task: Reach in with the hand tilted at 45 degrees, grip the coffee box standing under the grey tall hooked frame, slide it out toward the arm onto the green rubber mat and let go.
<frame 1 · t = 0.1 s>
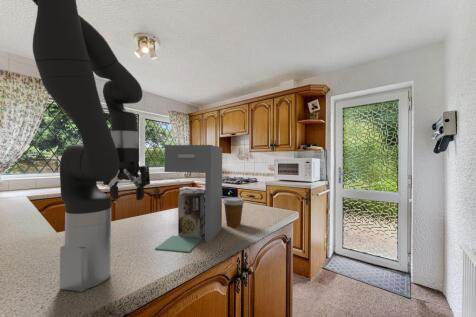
hand: (127, 199, 65), 17 cm above the countertop, tool pointing down, fingers open, 8 cm apart
grey tall hooked frame: (194, 233, 85), on the countertop
candy box: (194, 223, 99), on the countertop
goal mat: (180, 243, 74), on the countertop
coffee box: (191, 234, 84), on the countertop
disposable coffee cup: (233, 225, 96), on the countertop
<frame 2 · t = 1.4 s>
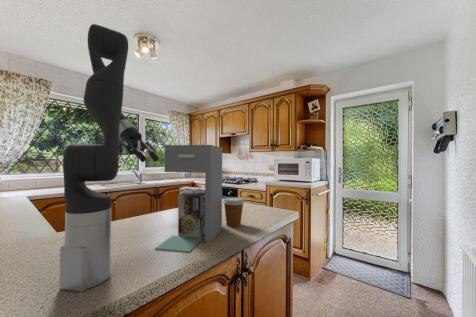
hand: (151, 160, 87), 29 cm above the countertop, tool tilted 45°, fingers open, 8 cm apart
nothing on the countertop moved.
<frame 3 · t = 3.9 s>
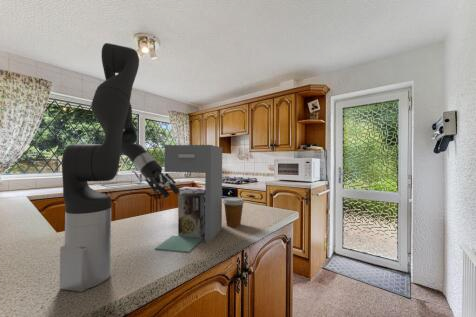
hand: (173, 194, 85), 15 cm above the countertop, tool tilted 45°, fingers open, 8 cm apart
nothing on the countertop moved.
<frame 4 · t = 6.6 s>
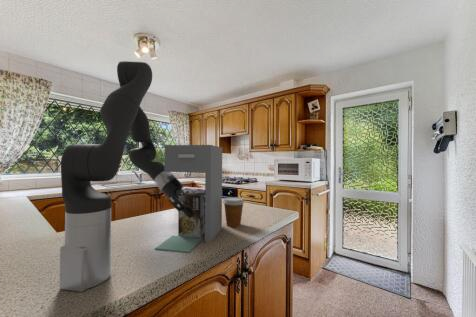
hand: (195, 214, 84), 8 cm above the countertop, tool tilted 45°, fingers closed on coffee box, 6 cm apart
coffee box: (191, 234, 84), on the countertop, touching gripper
everything else where it was.
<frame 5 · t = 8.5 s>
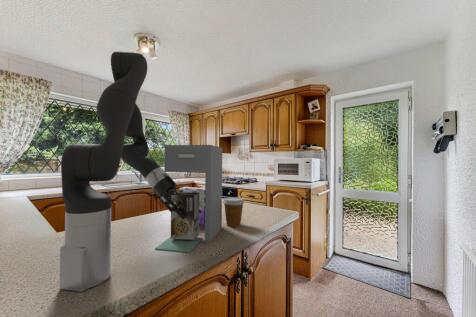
hand: (189, 215, 78), 9 cm above the countertop, tool tilted 45°, fingers closed on coffee box, 6 cm apart
coffee box: (185, 237, 78), point 1 cm above the countertop, touching gripper
everything else where it was.
when the fingers open (9 cm above the countertop, at t = 10.6 s): coffee box stays where it is, resting on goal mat.
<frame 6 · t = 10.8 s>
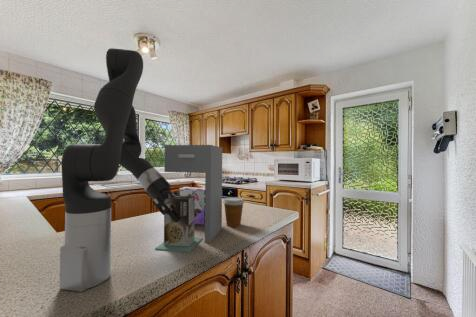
hand: (184, 217, 74), 9 cm above the countertop, tool tilted 45°, fingers open, 8 cm apart
coffee box: (179, 243, 74), resting on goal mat
everything else where it was.
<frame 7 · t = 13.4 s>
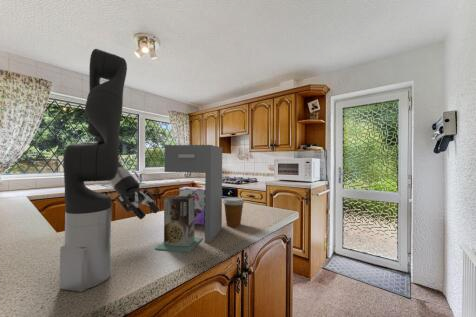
hand: (150, 214, 76), 10 cm above the countertop, tool tilted 45°, fingers open, 8 cm apart
nothing on the countertop moved.
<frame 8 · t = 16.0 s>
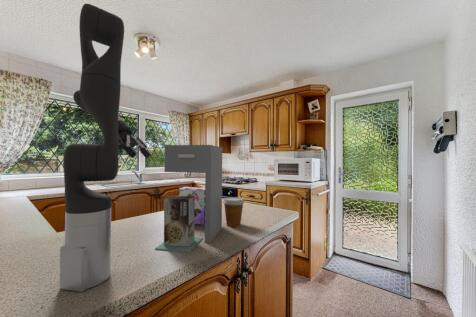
hand: (142, 156, 79), 31 cm above the countertop, tool tilted 45°, fingers open, 8 cm apart
nothing on the countertop moved.
at the end: coffee box inside the target area (0.2 cm from its centre), resting on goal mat; coffee box tilted 0°; the gripper is holding nothing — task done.
